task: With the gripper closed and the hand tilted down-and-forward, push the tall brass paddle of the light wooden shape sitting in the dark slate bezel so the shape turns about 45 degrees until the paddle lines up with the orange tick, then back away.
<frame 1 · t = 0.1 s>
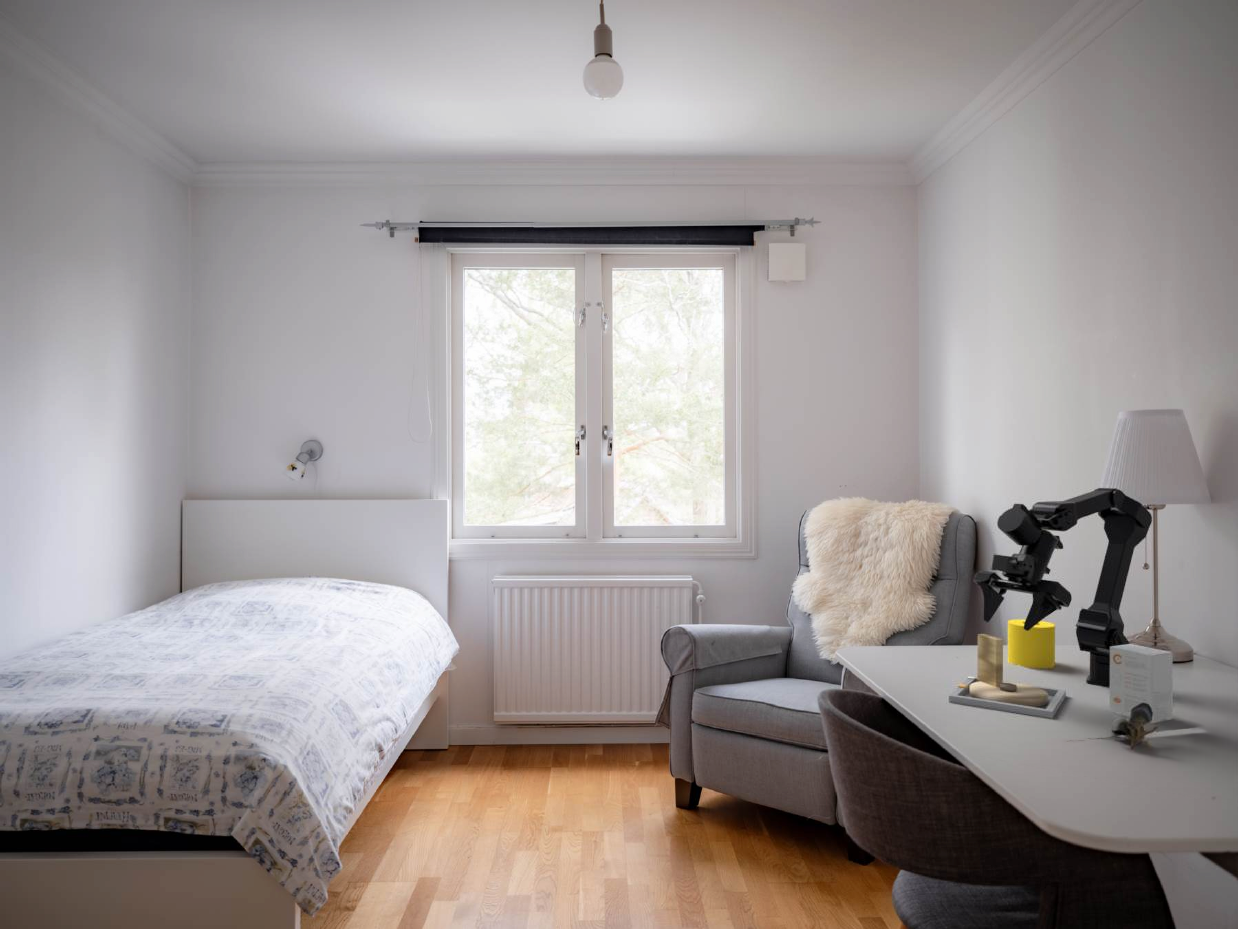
hand: (1005, 625, 168), 15 cm above the table, tool tilted 35°, fingers open, 9 cm apart
small box: (1140, 720, 156), on the table
tape roll: (1030, 664, 199), on the table
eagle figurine: (1134, 744, 143), on the table
bezel plate: (1008, 703, 166), on the table
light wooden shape: (1006, 669, 166), point 6 cm above the table, hinge at 0.0°
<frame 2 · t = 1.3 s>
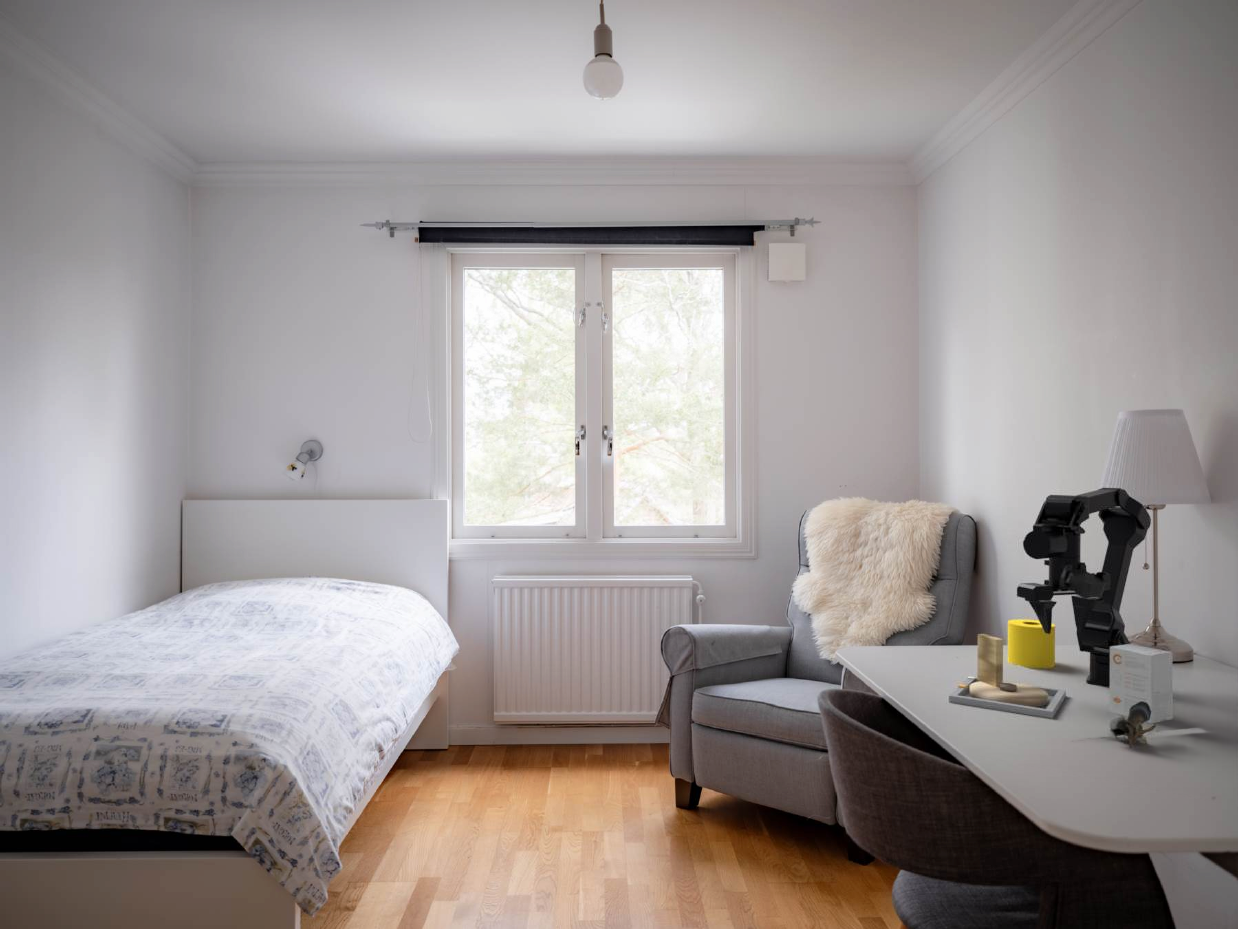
hand: (1063, 632, 173), 12 cm above the table, tool pointing down, fingers open, 8 cm apart
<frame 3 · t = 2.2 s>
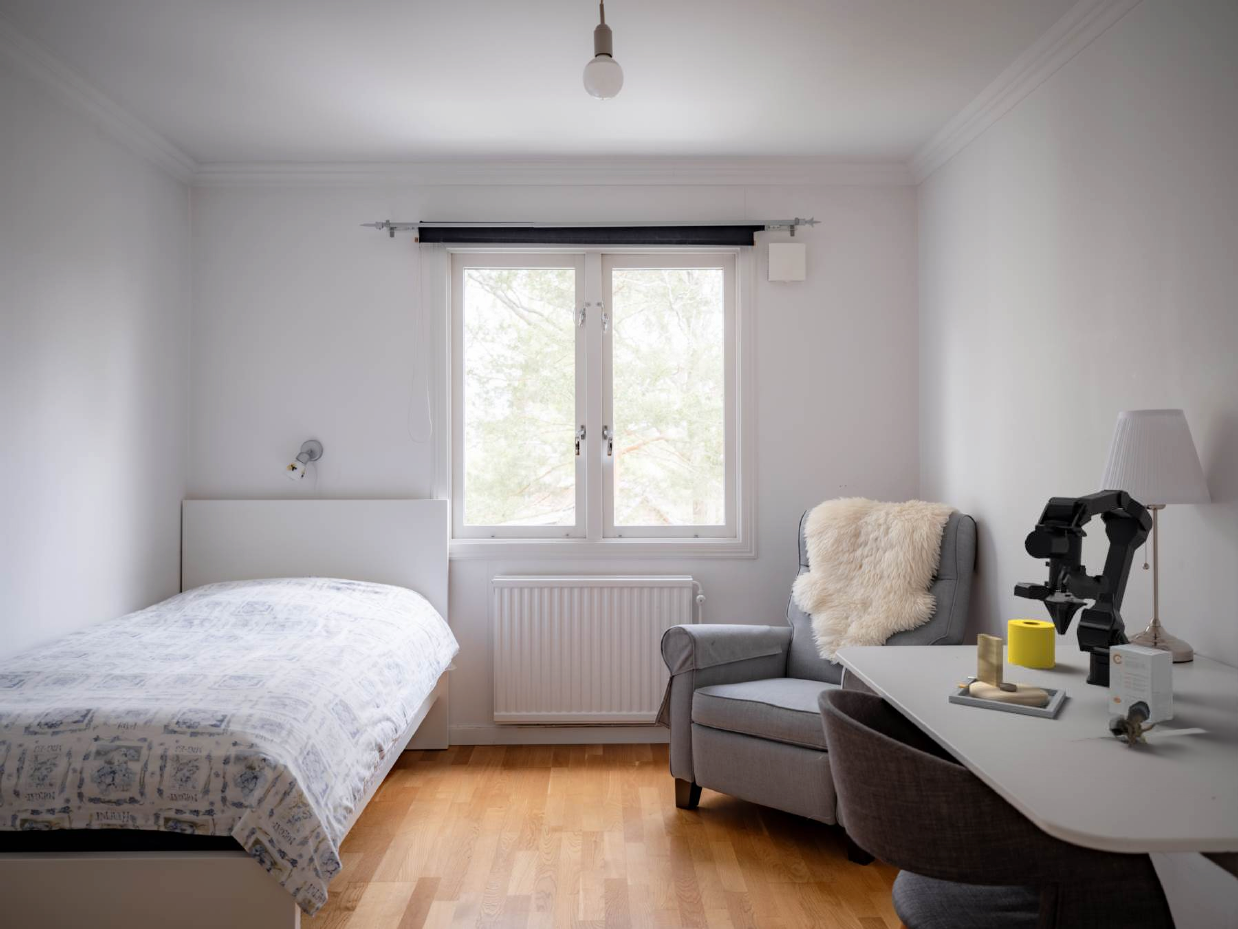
hand: (1061, 634, 173), 12 cm above the table, tool pointing down, fingers closed
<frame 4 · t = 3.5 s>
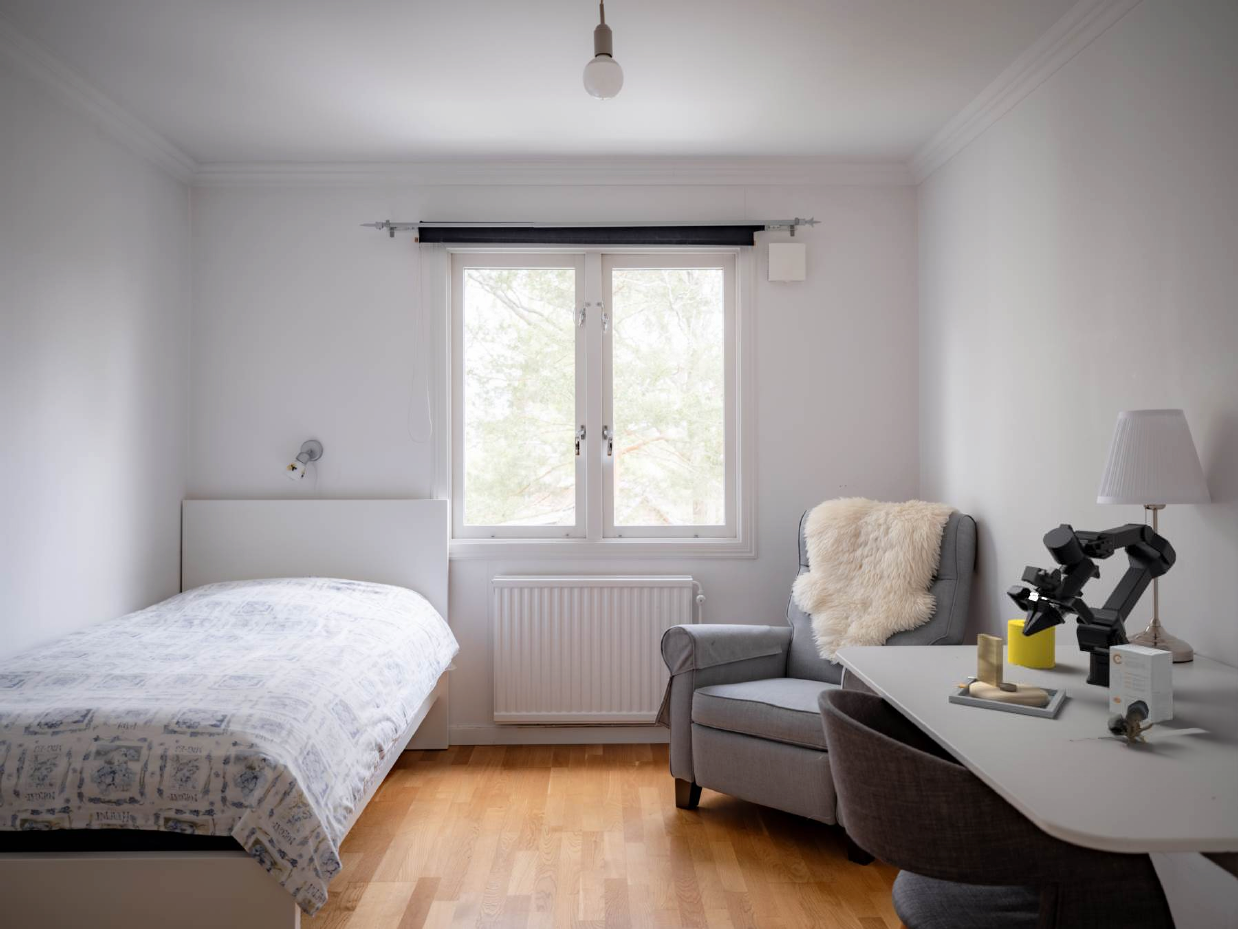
hand: (1024, 635, 173), 12 cm above the table, tool tilted 45°, fingers closed
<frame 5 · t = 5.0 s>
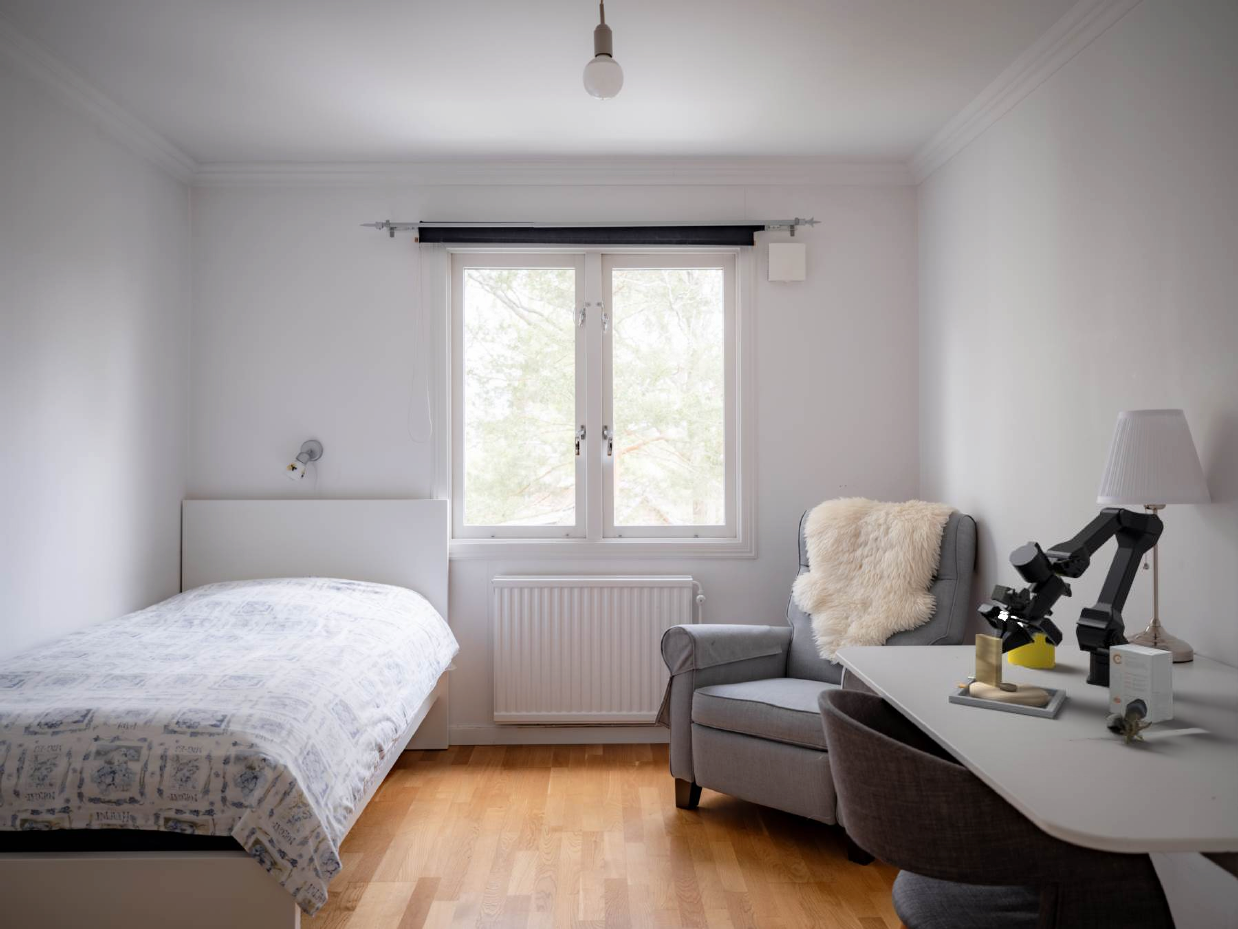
hand: (993, 654, 171), 8 cm above the table, tool tilted 45°, fingers closed, pressing on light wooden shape
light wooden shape: (1006, 669, 166), point 6 cm above the table, hinge at 4.0°, touching gripper
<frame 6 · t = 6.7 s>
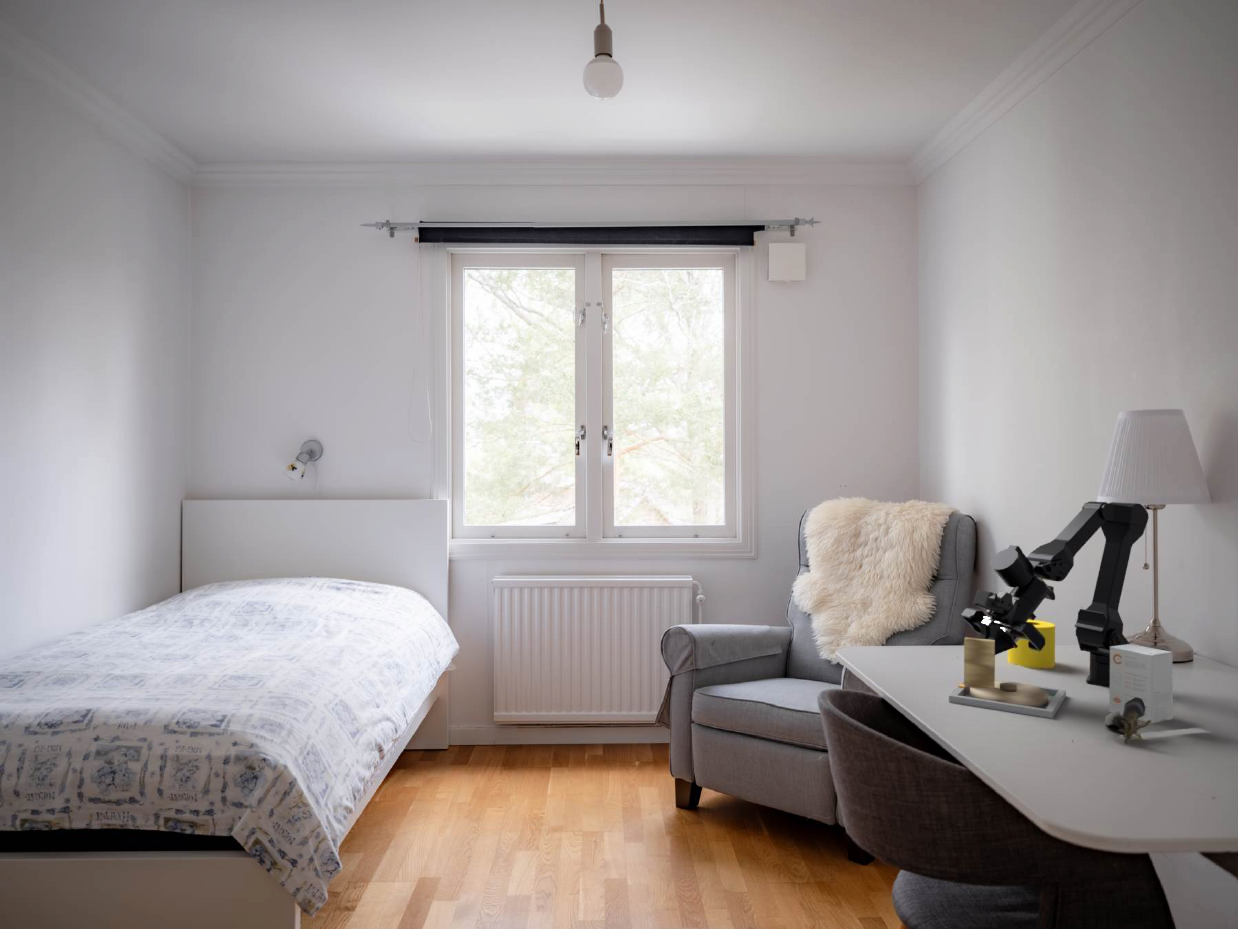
hand: (977, 660, 170), 7 cm above the table, tool tilted 45°, fingers closed
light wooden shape: (1005, 669, 166), point 6 cm above the table, hinge at 46.9°, touching gripper
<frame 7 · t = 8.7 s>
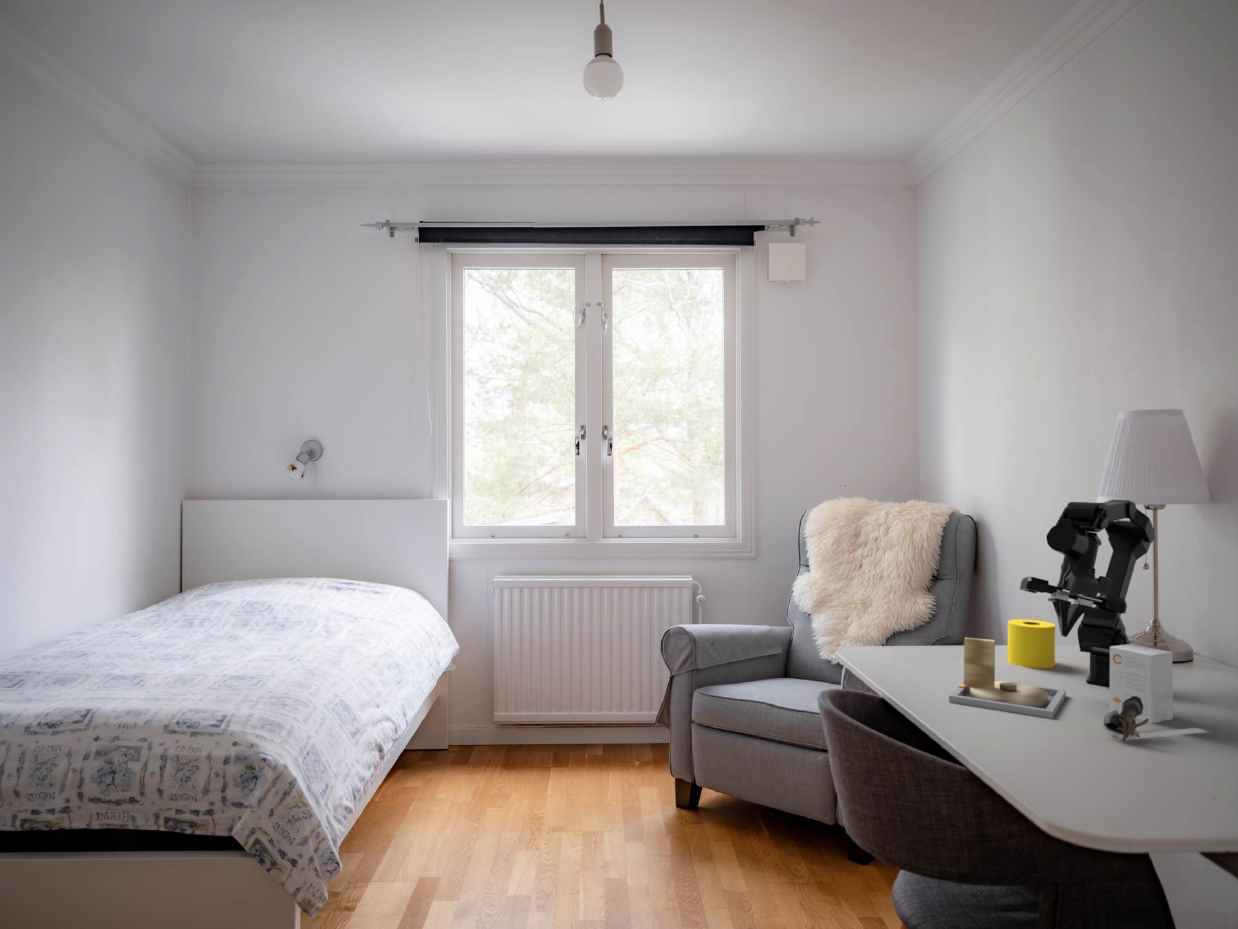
hand: (1063, 636, 172), 12 cm above the table, tool tilted 15°, fingers closed
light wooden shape: (1005, 669, 166), point 6 cm above the table, hinge at 46.9°
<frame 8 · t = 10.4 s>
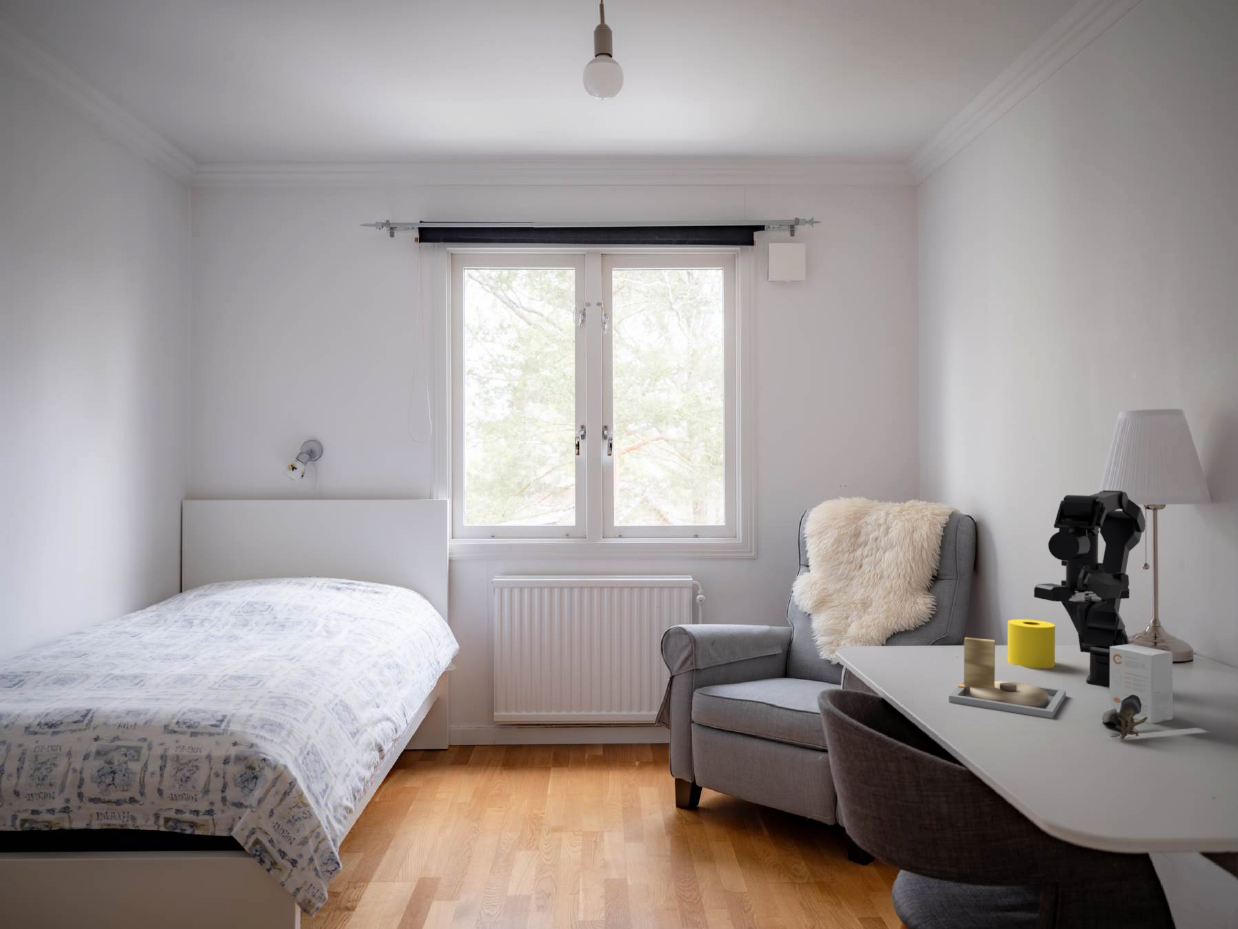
hand: (1081, 633, 172), 12 cm above the table, tool pointing down, fingers closed
at the end: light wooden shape at +47° (first picture: +0°) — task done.
